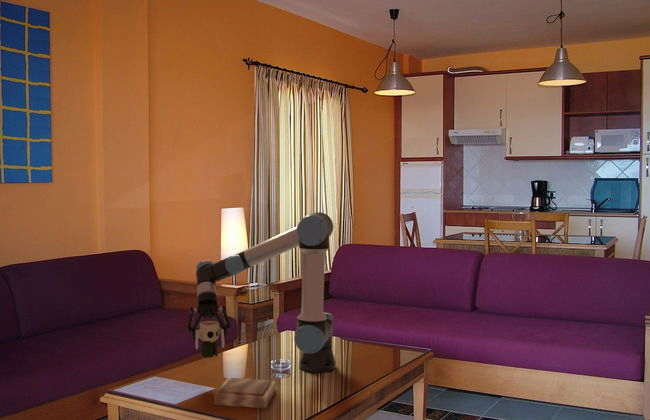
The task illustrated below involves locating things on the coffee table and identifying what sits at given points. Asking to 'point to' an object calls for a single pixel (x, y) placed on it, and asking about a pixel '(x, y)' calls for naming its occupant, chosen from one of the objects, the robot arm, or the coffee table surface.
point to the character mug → (209, 337)
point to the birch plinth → (245, 392)
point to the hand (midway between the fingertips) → (210, 346)
